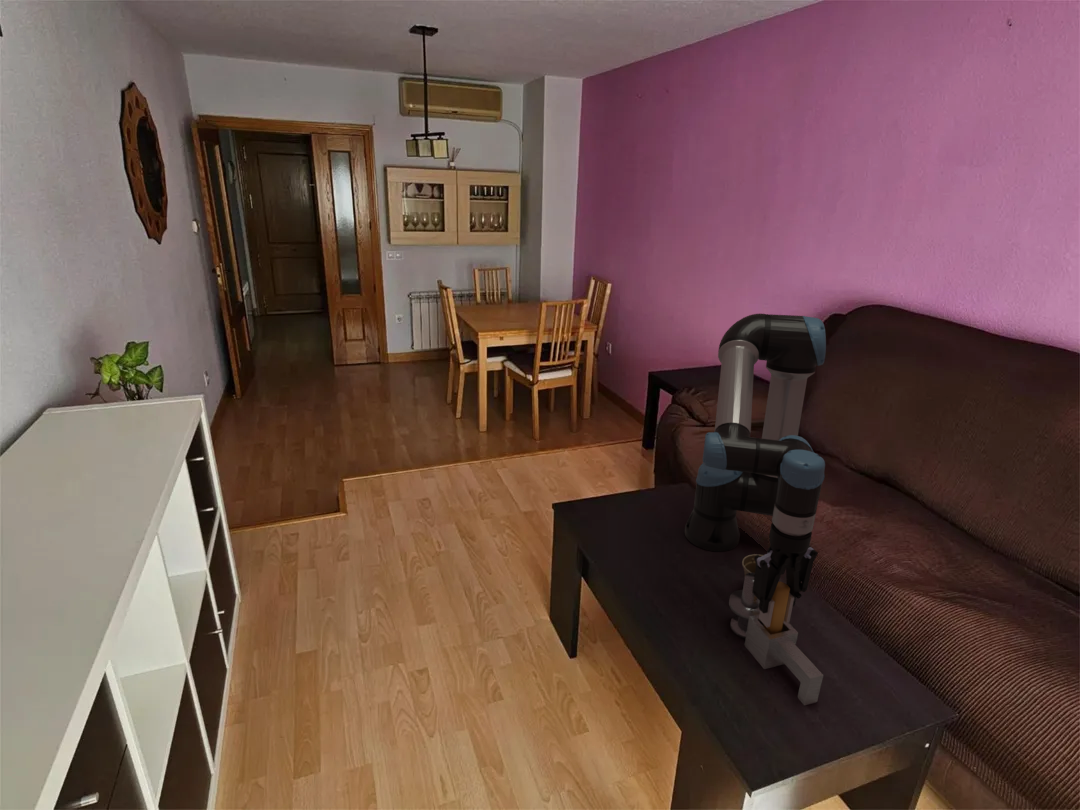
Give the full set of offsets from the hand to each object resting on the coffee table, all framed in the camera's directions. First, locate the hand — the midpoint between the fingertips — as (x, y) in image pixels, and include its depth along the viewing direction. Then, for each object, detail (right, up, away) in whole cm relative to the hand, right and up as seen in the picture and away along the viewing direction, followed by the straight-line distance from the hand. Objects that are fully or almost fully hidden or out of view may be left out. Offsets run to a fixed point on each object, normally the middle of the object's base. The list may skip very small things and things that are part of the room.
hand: (774, 620), depth 124 cm
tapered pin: (0, -5, +2) cm, 5 cm away
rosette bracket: (0, -9, +3) cm, 9 cm away
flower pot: (+4, -2, +21) cm, 22 cm away
